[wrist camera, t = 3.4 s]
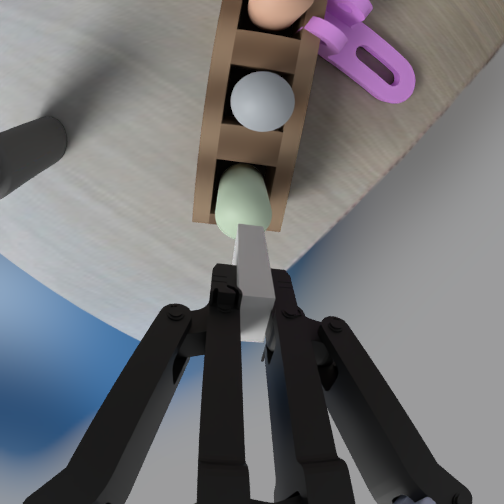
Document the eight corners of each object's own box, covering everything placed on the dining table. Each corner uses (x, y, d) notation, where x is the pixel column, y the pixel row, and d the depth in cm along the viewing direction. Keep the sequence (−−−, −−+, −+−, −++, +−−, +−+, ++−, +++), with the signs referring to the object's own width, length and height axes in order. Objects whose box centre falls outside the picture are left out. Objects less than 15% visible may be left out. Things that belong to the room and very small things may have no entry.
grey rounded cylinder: (236, 71, 21) (235, 67, 16) (284, 78, 22) (299, 78, 16) (228, 116, 24) (226, 127, 18) (275, 123, 24) (288, 136, 19)
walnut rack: (231, -15, 20) (230, -35, 15) (312, 0, 21) (330, -16, 16) (199, 197, 32) (192, 221, 27) (272, 206, 33) (280, 232, 28)
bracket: (290, 36, 23) (304, 24, 17) (320, -2, 21) (341, -21, 15) (391, 112, 27) (425, 123, 21) (417, 76, 25) (454, 80, 19)
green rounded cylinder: (222, 160, 26) (218, 185, 20) (267, 166, 26) (276, 192, 21) (216, 202, 28) (212, 236, 22) (260, 207, 28) (266, 243, 23)
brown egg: (251, -13, 17) (256, -40, 12) (299, -4, 18) (319, -27, 12) (243, 27, 19) (246, 10, 14) (292, 35, 20) (310, 22, 14)
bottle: (75, 130, 27) (-16, 175, 14) (56, 173, 29) (-24, 236, 16) (39, 108, 25) (-55, 143, 12) (23, 151, 27) (-62, 203, 14)
